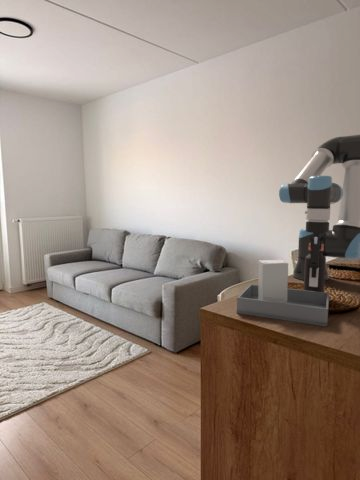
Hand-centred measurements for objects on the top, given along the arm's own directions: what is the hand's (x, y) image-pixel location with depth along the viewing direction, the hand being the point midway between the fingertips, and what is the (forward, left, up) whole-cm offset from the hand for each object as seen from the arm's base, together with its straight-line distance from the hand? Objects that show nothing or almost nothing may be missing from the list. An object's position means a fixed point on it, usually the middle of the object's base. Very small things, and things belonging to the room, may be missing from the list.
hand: (314, 282), depth 119 cm
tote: (+17, -8, -6) cm, 20 cm away
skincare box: (+17, -12, -5) cm, 21 cm away
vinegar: (0, 0, -6) cm, 6 cm away
